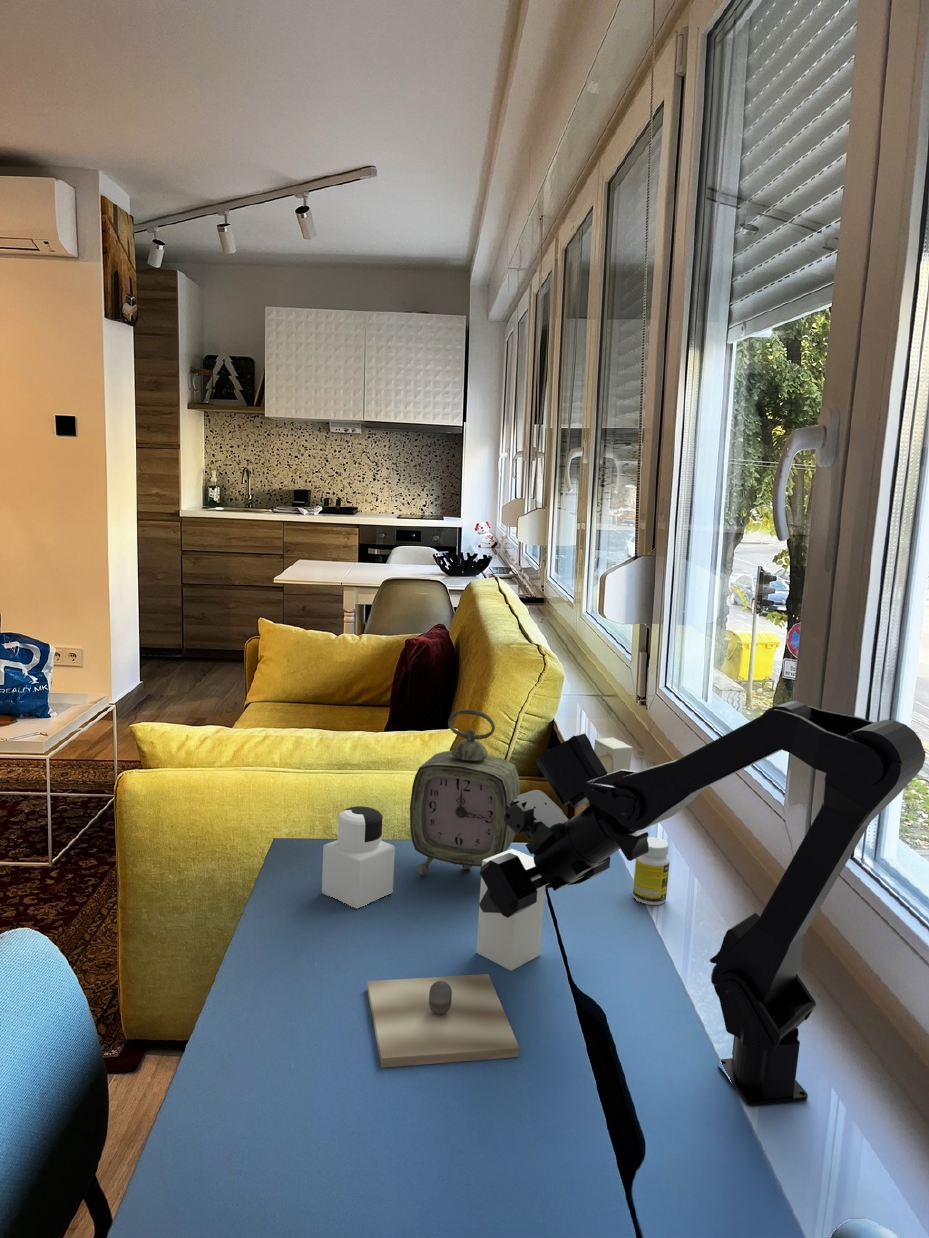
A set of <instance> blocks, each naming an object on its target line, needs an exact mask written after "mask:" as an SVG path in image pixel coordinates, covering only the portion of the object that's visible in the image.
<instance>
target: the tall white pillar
mask: <svg viewBox="0 0 929 1238" xmlns="http://www.w3.org/2000/svg"><path fill="white" fill-rule="evenodd" d="M507 853H512V854H514V855H517V856H518V857H519V859H520V861H521V862H522V864H523V866H524V868H525V870H528V869H530V868H532V867H535V864H534V859H533V858H534V856H532V855H528V854H526V853H523V852H521V851H519V850H516V849H513V848H510V849H507V851H505V852H502V853H500V854H497V855H495V856H492V857H489V858H487V859H484V860H482V866H483V865H484V864H486V863H487V862H488V861H490V860H492V859H494V858H497V857H499V856H502V855H505V854H507ZM541 877H542V876H539V877H537V878H534V879H532V880H531V881H533V880H535V879H538V878H541ZM487 889H488V888H487V886H486V884H485V882H484V880H483V878H482V876H481V875H480V889H479V904H480V902H481V900H482V898H483V896H484V895H485V893H486V891H487ZM536 890H537V902H536V903H534V904H533V905H532V906H530V907H528V908H526V909H525V910H523V911H521V912H519V913H517V914H515V915H513V916H510V917H508V918H507V917H505V916H503V915H502V914H501V913H485V912H483V911H482V909H481V908H480V905H478V922H477V938H476V939H477V940H476V954H478V955H479V956H482V957H483V958H486V959H487V960H490V961H491V962H494V963H495V964H497V965H499V966H500V967H502V968H505V969H506V970H508V971H510V972H512V971H513V970H516V969H518V968H519V967H521V966H522V965H525V964H526V963H528V962H531V961H532V960H533V959H536V958H537V957H540V956H541V955H542V954H541V953H542V939H543V937H542V936H543V927H544V926H543V925H544V924H543V923H544V914H545V912H544V911H545V900H546V897H545V895H546V889H545V886H543V887H541V888H538V889H536Z"/></svg>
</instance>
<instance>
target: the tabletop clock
mask: <svg viewBox="0 0 929 1238" xmlns="http://www.w3.org/2000/svg"><path fill="white" fill-rule="evenodd" d="M460 715H472V716H473V715H474V716H478V717H482V718H483V719H485V720H487V721H488V723H489V724H490V725H491V730H490V731H489V732H487V733H483V734H475V731H476V730H475V729H474V728H472V727H471V728H468V729H467V732H463V731H461V730H458V729H456V728H455V727H453V725H452V721H453V719H454V718H456V717H457V716H460ZM447 725H448V728H449V729H450V730H451V732H452V733H453V734H455V735H456V736H459V737H461V738H464V739H462V740H460V741H459V742H457V744H455V746H454V747H453V748H452V750H445V751H441V752H438V753H435V754H434V755H432V756H431V758H429V759H427V760H426V761H425V762H424V763H423V764H421V766H419V767H418V769H417V771H416V774H415V776H414V779H413V783H412V787H411V788H412V789H411V795H410V804H409V825H410V826H409V827H410V836H411V841H412V844H413V847H414V849H415V850H414V851H416V852H418V853H420V854H421V855H423V856H425V857H427V859H426V860H425V863H421V864H419V865H418V866H417V873H418V875H420V874H421V875H420V876H426V875H427V874H428V873H429V869H430V868H429V865H430V864H431V862H432V861H433V860H437V861H441V862H444V863H445V862H446V863H449V864H453V865H460V866H462V868H463V870H466V869H469V870H471V869H472V867H478V868H479V867H480V868H481V867H482V860H484V859H487V858H489V857H492V856H495V855H497V854H500V853H502V852H505V851H507V850H509V848H510V846H511V844H512V843H513V841H514V839H515V836H516V833H515V832H514V831H513V830H512V829H511V828H510V827H509V826H508V825H507V824H506V823H505V821H504V814H505V813H506V811H505V806H506V805H509V804H510V803H511V802H512V800H514V799H516V798H517V796H518V795H520V794H521V787H520V786H521V785H520V777H519V773H518V770H517V767H516V765H515V764H514V763H512V762H510V761H509V760H507V759H504V758H502V757H497V756H493V755H488V751H487V749H486V747H485V746H484V745H483V743H482V742H481V741H478V740H483V739H487V738H489V737H491V736H492V735H493V734H494V732H495V730H496V725H495V723H494V720H493V719H492V718H491V717H490V716H489V715H488V714H486V713H485V712H482V711H480V710H476V709H469V708H467V709H465V708H464V709H460V710H456V711H454V713H452V714H451V715H449V718H448V720H447ZM425 874H426V875H425Z"/></svg>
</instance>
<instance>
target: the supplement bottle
mask: <svg viewBox="0 0 929 1238" xmlns="http://www.w3.org/2000/svg"><path fill="white" fill-rule="evenodd" d="M647 841H648V848H649V851H648V853H646V854H644V855H642V856H640V857H638V858H636V859H635V862H634V863H635V864H634V872H633V873H634V875H633V886H632V897H633V899H634V898H635V899H636V900H635V899H634V900H635V901H637V902H638V901H639V902H638V903H640V902H642V903H641V904H643V903H644V904H643V905H648V906H659V905H662V904H664V903H665V902H666V899H667V893H668V892H667V890H668V882H669V871H670V862H671V861H670V858H669V856H668V854H669V843H668V842H667V841H666V840H665V839H663V838H662V839H661V838H659V837H652V836H648V839H647Z"/></svg>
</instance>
